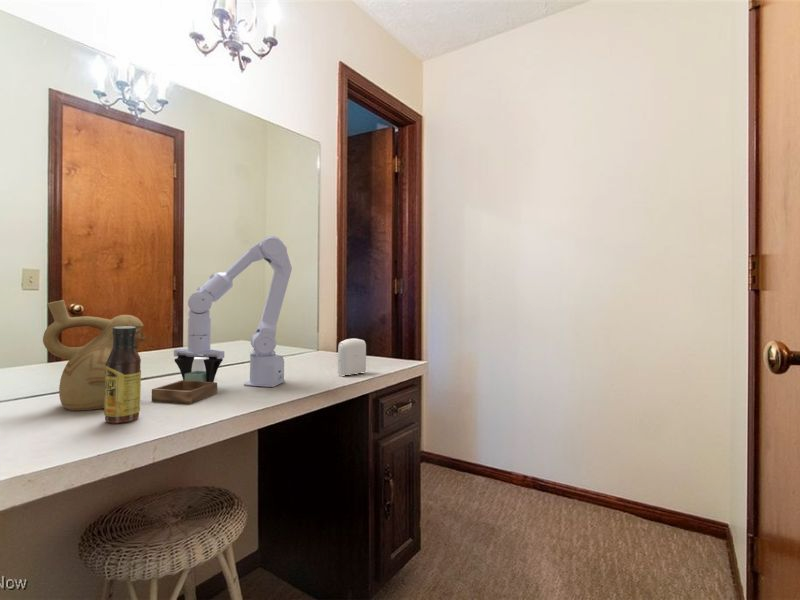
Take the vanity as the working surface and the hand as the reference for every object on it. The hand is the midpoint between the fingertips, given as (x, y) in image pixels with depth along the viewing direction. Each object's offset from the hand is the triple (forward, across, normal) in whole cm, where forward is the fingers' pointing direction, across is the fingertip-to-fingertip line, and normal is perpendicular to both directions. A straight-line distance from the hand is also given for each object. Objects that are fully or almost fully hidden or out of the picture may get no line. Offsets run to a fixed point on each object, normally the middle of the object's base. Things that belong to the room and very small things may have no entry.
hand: (198, 382), depth 112 cm
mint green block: (+2, 0, 0) cm, 2 cm away
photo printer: (+2, +36, +30) cm, 47 cm away
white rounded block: (+2, -7, +10) cm, 12 cm away
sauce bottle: (+2, +3, -28) cm, 28 cm away
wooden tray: (+2, +3, -9) cm, 10 cm away
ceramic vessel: (+2, -13, -19) cm, 23 cm away
